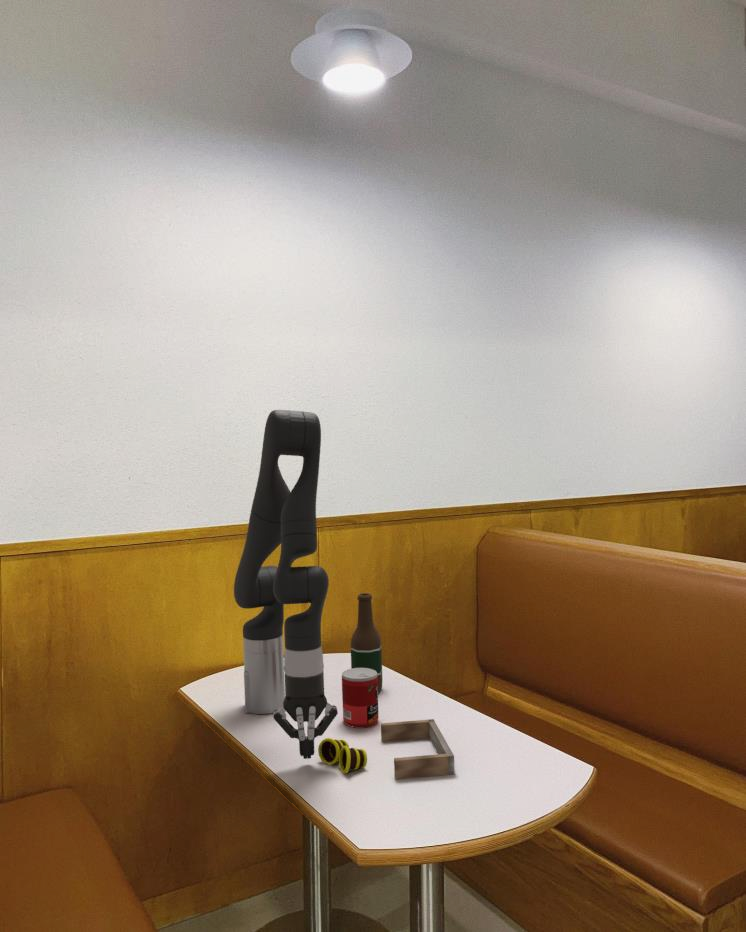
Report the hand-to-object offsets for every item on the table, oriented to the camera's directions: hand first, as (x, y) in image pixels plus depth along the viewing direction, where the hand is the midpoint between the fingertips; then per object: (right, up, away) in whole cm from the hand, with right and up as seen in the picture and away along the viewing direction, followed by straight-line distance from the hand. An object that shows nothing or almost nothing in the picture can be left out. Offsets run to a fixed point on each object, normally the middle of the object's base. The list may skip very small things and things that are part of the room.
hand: (306, 757), depth 152 cm
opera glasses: (+7, -2, 0) cm, 7 cm away
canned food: (+10, 0, +22) cm, 24 cm away
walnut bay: (+21, -1, +3) cm, 21 cm away
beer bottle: (+11, +1, +42) cm, 44 cm away
